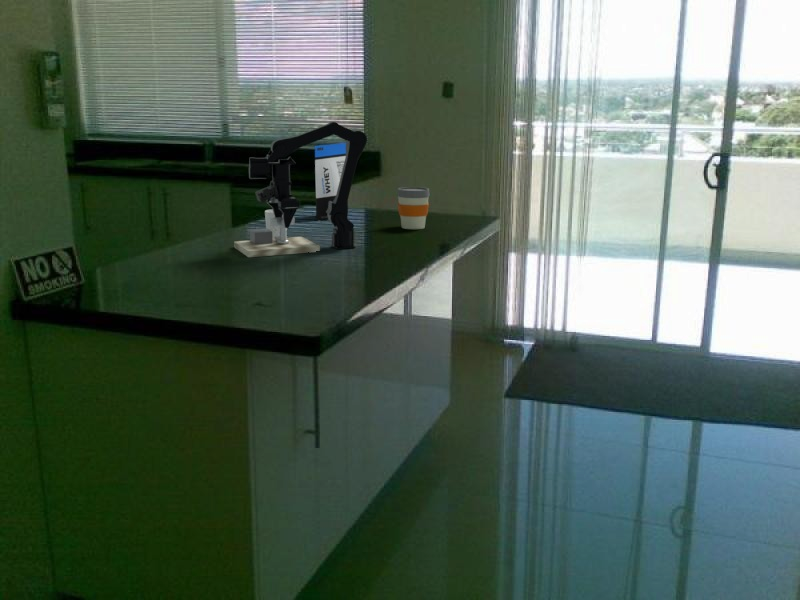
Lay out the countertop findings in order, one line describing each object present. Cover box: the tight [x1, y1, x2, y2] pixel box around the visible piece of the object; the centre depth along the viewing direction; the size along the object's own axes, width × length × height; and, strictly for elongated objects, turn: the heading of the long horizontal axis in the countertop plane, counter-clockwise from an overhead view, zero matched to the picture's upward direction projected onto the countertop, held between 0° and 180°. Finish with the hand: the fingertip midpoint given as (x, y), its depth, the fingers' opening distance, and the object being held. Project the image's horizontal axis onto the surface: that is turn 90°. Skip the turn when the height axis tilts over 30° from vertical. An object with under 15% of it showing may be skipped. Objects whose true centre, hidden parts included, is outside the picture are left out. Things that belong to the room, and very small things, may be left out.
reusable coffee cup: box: [397, 186, 431, 230], centre depth 309 cm, size 13×13×15 cm
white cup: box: [264, 208, 288, 239], centre depth 283 cm, size 8×8×10 cm
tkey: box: [270, 216, 296, 244], centre depth 266 cm, size 8×9×8 cm
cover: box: [249, 228, 273, 245], centre depth 266 cm, size 6×6×4 cm
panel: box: [233, 236, 321, 258], centre depth 265 cm, size 24×18×2 cm
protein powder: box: [314, 142, 346, 222], centre depth 330 cm, size 10×24×30 cm, turn 153°
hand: (282, 225), depth 263 cm, fingers open, 9 cm apart
